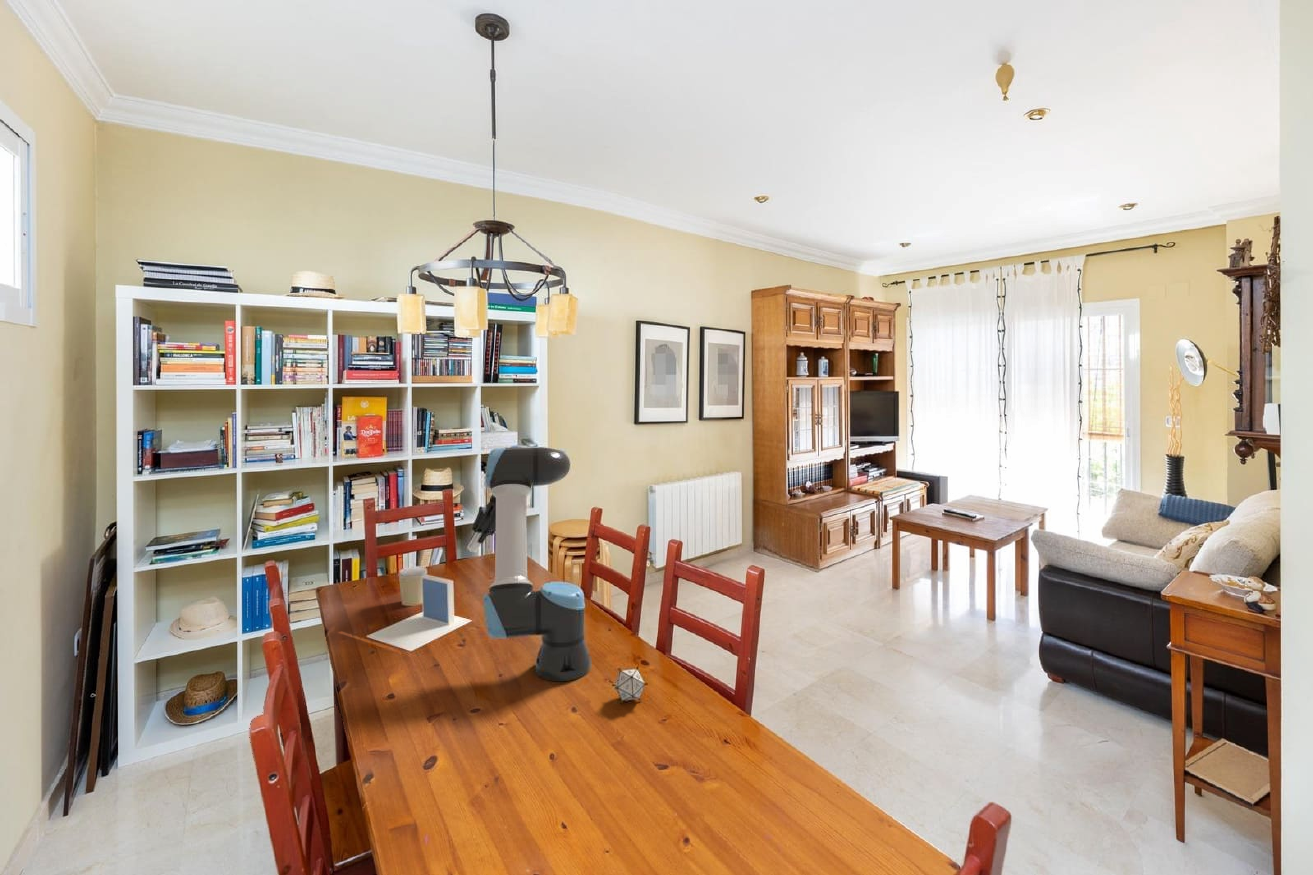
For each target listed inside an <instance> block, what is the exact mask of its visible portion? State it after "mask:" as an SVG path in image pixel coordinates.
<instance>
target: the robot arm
mask: <svg viewBox="0 0 1313 875" xmlns="http://www.w3.org/2000/svg"><path fill="white" fill-rule="evenodd" d="M485 468H486V469H485V479H484V480H485V487H486V488H488V489H490V494H491V496H490V497H489V501H488V503H487V504H486V505H485V506H479V508H478V512H477V515H476V517H475V520H474V522H473V524H472V526H471V530H472V531H473V535H472V536H471V537H470V541H469V543H468V545H467V546H466V549H467V550H468V551H469V552H470V553H477V552H478V550H479V548H480V547H481V545H482V544H484V543H485V540H486V539H487V537H489V536H491V537H492V536H493V535H494V534H495V550H494V551H495V552H494V554H495V555H494V556H495V557H494V558H495V560H494V562H495V563H494V564H495V565H494V566H495V567H494V582H492V583H491V585H490V586H489V588H488V590H489V591H488V593H486V594H484V595H483V610H484V618H485V624H486V626H485V627H486V630H487V635H488V636H489V637H490V638H491V639H495V640H496V639H506V640H508V639H511V638H513V639H514V638H523V637H532V636H533V637H535V636H541V645H540V646H539V650H538V653H537V657H536V659H535V672H536V674H537V676H538V677H540V678H542V679H544V680H546V681H550V682H558V683H559V682H570V681H575V680H576V679H580V678H581V677H584V676H585V675H586V674H588V673H589V672H590V670H591V668H592V660H591V659H592V658H591V657H592V656H591V654H590V653H589V648H588V646H587V642H586V640H585V639H586V638H585V608H586V603H585V594H584V591H583V590H582V588H581V587H579V586H578V585H575V584H573V583H570V582H565V581H550V582H546V583H544V584H542V585H541V588H540V590H534V585H533V583H532V582H531V580H529V579H528V550H527V549H528V548H527V547H528V544H527V538H528V536H527V534H528V533H527V497H528V496H529V495H530V494H531V493H532V487H540V486H548V485H551V484H554V483H556V482H559V481H561V480H563V479H564V478H566V476H567V475H568V473H569V472H570V470H571V461H570V458H569V456H568V455H567V452H566V450H563V449H556V448H551V447H539V446H537V447H521V446H519V445H512V446H510V447H508V446H506V447H498V448H497V447H496V448H494V449H491V450H490V452H489V454H488V458H487V461H486V467H485Z"/></svg>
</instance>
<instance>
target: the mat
mask: <svg viewBox="0 0 1313 875" xmlns="http://www.w3.org/2000/svg"><path fill="white" fill-rule="evenodd" d="M471 622H473V620H472V619H468V618H465V617H462V616H457V615H454V623H452V624H450V625H447V624H444V623H440V622H437V621H433V620H430V619H426V618H423V611H422V612H419V613H417V614H413V615H411V616H410V617H407V618H405V619H403V620H401V621H398V622H396V623H393V624H392V625H388V626H387V627H384V628H382V629H379V630H377V631H375V632H373V633H371V634H368V635H366V636H365V637H366V638H368V639H369V638H370V639H372V640H376V641H379V642H382V643H385V644H387V645H391V646H393V647H396V648H400V649H404V650H406V651H409V652H412V651H414V650H417V649H418V648H421V647H422V646H424V645H427V644H428V643H430V642H432V641H435V640H437V639H439V638H441V637H442V636H445V635H447V634H448V633H451V632H453V631H454V630H457V629H458V628H461V627H462V626H464V625H466V624H468V623H471Z"/></svg>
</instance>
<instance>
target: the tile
mask: <svg viewBox="0 0 1313 875" xmlns="http://www.w3.org/2000/svg"><path fill="white" fill-rule="evenodd" d="M454 590H455V589H454V580H453V579H452V580H451V579H448V578H443V577H439V576H436V575H435V576H434V575H431V574H427V575H425V576H422V604H421V605H422V612H423V618H426V619H430V620H433V621H437V622H440V623H444V624H447V625H450V624H452V623H454V616H455V602H454V601H455V597H454V596H455V594H454Z"/></svg>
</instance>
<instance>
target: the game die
mask: <svg viewBox="0 0 1313 875" xmlns="http://www.w3.org/2000/svg"><path fill="white" fill-rule="evenodd" d="M636 666H637V667H636V668H630V669H629V668H628V669H621V668H620V667H618V668H617V669H618V671H619V672H618V675H617V677H616V680H615V681H614V683H612V684H611V686H612V687H614V689H615V690H616V692H617V694H618V696H619V698H620V700H621V701H620V703H622V704H623V702H627V701H633V700H634V701H635V700H638V701H639V700H641V701H642V699H641V696H642V694H643V691H644V688H645V686H648V685H649V683H648V682H645V680H644V678H643V676H642V674H641V672H640V671H639V667H640V665H636ZM620 703H619V704H620Z"/></svg>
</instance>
